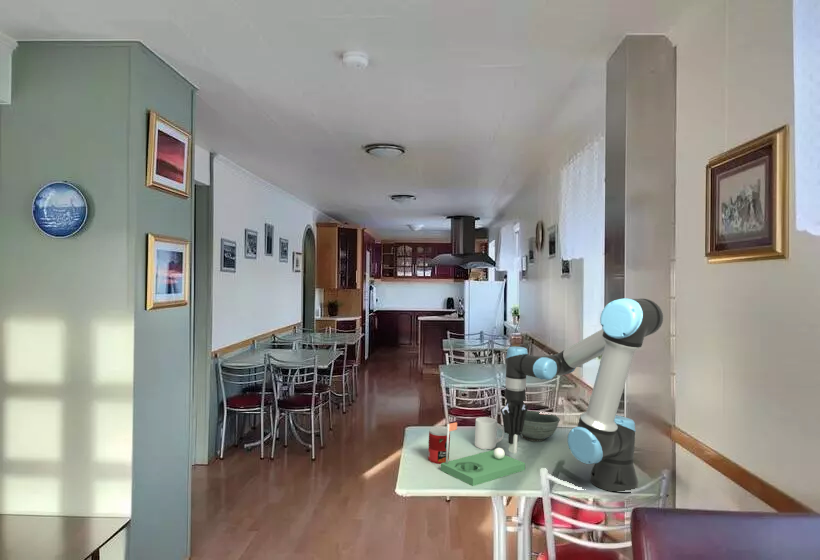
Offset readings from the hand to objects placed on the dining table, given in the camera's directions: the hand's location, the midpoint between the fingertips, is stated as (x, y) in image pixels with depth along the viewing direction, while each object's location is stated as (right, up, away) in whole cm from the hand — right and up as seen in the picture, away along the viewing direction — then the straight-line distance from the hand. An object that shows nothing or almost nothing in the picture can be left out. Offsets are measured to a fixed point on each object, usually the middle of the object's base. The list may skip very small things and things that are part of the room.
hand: (512, 451), depth 198 cm
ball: (-6, +1, -5) cm, 7 cm away
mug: (-6, -3, +17) cm, 18 cm away
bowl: (+15, -4, +29) cm, 33 cm away
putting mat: (-12, -3, -10) cm, 16 cm away
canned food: (-28, -3, -1) cm, 28 cm away
